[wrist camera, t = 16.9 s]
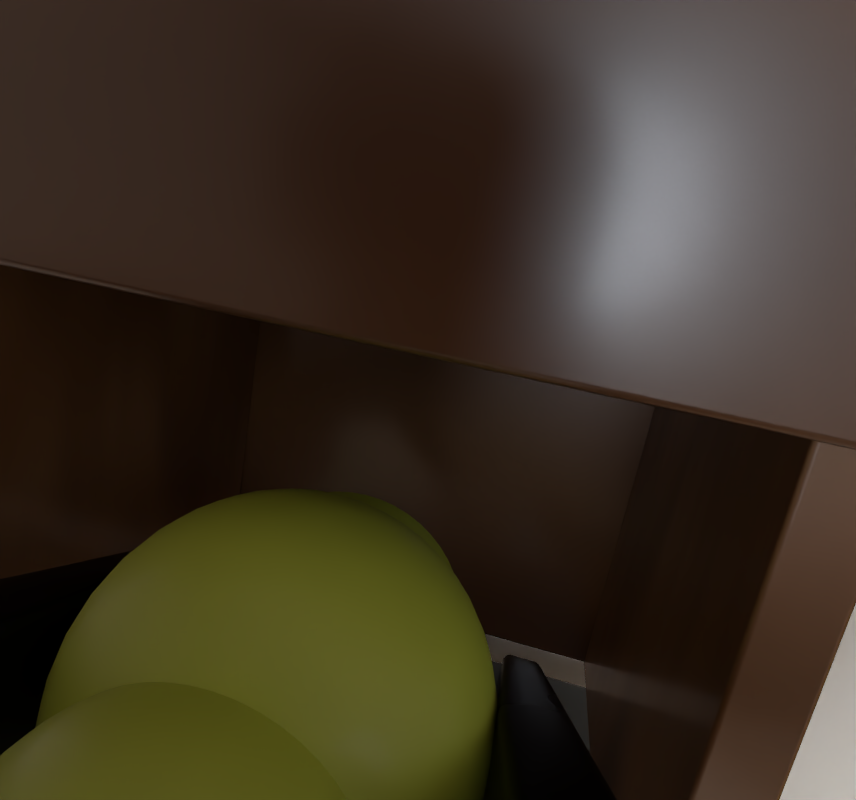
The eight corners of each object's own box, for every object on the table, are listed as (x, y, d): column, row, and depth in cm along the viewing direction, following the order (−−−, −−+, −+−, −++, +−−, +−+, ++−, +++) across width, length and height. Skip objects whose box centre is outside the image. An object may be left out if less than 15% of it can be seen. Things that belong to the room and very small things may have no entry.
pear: (475, 775, 9) (290, 1953, 3) (190, 685, 10) (-486, 1464, 3) (546, 485, 8) (502, 1329, 2) (219, 407, 9) (-694, 791, 2)
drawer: (571, 895, 16) (585, 1485, 8) (177, 762, 18) (-119, 1149, 10) (813, 103, 12) (1342, -234, 4) (252, 25, 14) (-183, -318, 6)
